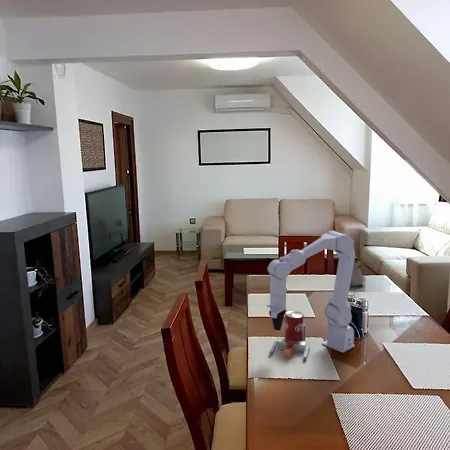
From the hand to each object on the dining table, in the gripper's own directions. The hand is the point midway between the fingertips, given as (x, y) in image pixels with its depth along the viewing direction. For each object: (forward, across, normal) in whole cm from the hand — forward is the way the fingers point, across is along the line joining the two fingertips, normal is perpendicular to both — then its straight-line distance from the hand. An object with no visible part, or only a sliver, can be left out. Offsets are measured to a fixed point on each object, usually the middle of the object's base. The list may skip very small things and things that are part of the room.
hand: (277, 329), depth 148 cm
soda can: (+10, -11, +4) cm, 16 cm away
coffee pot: (+10, -90, +25) cm, 94 cm away
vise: (+10, -8, +4) cm, 13 cm away
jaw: (+10, -3, +4) cm, 11 cm away
